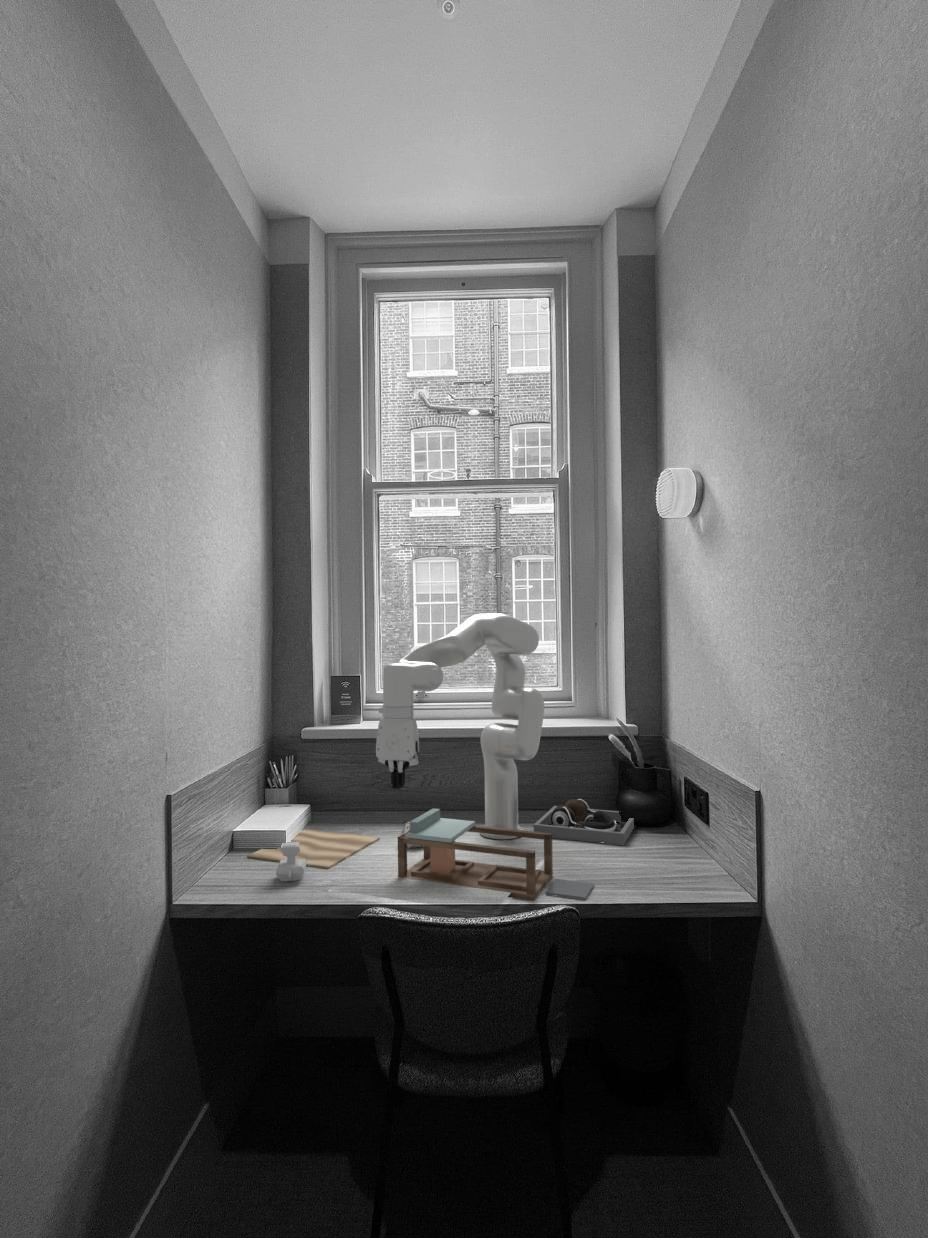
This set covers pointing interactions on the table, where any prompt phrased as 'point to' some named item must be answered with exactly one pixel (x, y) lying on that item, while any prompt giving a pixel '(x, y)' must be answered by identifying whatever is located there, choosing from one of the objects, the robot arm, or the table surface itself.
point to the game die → (405, 833)
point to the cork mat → (320, 848)
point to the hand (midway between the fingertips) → (398, 787)
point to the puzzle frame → (483, 875)
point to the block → (442, 860)
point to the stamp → (291, 863)
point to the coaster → (570, 889)
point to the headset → (581, 816)
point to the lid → (438, 827)
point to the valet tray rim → (582, 833)
